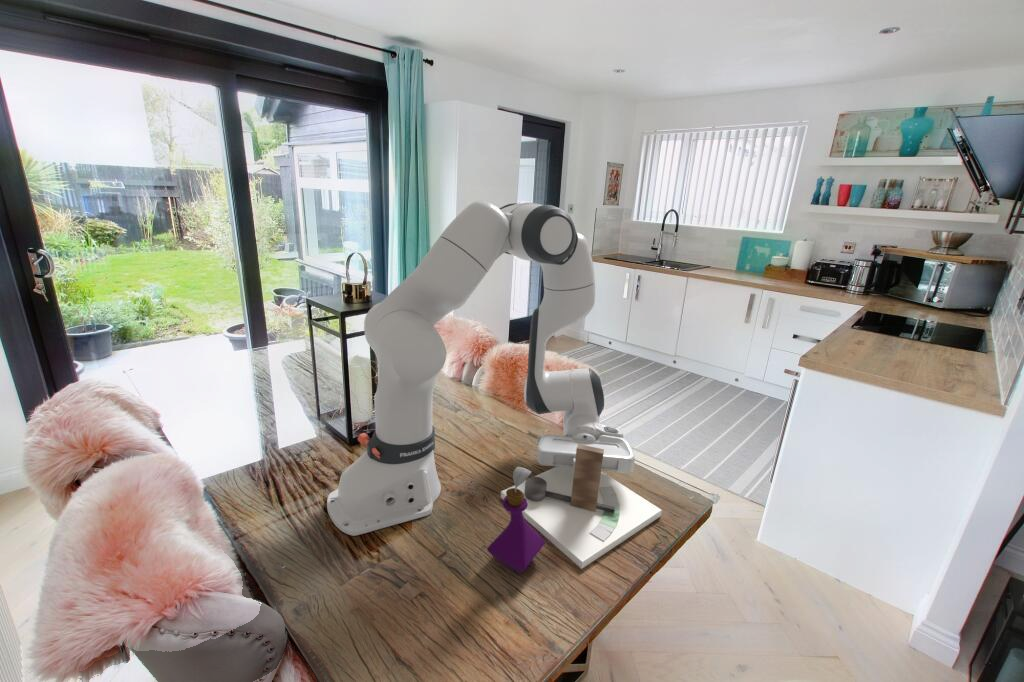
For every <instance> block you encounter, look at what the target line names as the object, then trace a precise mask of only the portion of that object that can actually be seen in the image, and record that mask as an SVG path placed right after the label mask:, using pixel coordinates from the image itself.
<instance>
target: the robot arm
mask: <svg viewBox="0 0 1024 682" xmlns="http://www.w3.org/2000/svg"><path fill="white" fill-rule="evenodd" d="M503 254H507V255H511V256H512V255H513V257H514V256H515V257H517V258H518V259H521V260H525V261H530V262H538V264H539V266H540V268H541V271H542V280H543V281H542V282H543V298H542V300H541V302H540V305H539V306H538V307H536V308H534V310H533V311H532V312H533V313H532V315H531V320H530V329H529V330H530V331H529V339H528V341H529V342H528V343H529V344H528V357H527V375H526V379H525V382H524V387H523V388H524V389H523V397H524V402H525V405H526V407H527V408H528V409H530V411H532V412H533V413H535V414H537V415H544V414H550V413H554V412H563V413H562V414H563V415H562V426H563V429H562V430H563V431H562V433H563V434H561V435H559V434H544V435H542V436H539V437H537V438H536V445H537V456H536V457H537V458H536V462H537V463H538V464H539V465H540V466H548V467H568V468H573V470H574V468H575V459H576V449H577V446H578V444H581V445H585V446H590V447H595V448H600V449H604V454H603V462H602V469H601V471H602V472H611V473H613V472H614V473H623V474H630V473H632V472H633V470H634V467H635V460H636V459H635V454H634V451H633V449H632V447H631V445H630V443H629V442H628V441H627V439H625V438H624V431H622V430H621V429H618V428H614V427H610V426H607V425H605V424H602V423H601V422H600V417H599V416H600V415H601V414H602V412H603V411H604V407H605V396H604V395H605V394H604V390H603V386H602V382H601V378H600V376H599V375H598V374H597V373H596V372H595V370H594V369H591V368H573V369H572V368H571V369H567V370H554V371H551V370H550V371H549V370H546V369H545V361H546V349H547V348H546V347H547V343H548V341H549V340H550V338H552V337H553V336H555V335H556V334H557V333H559V332H561V331H563V330H565V329H567V328H569V327H572V326H574V325H576V324H578V323H579V322H581V321H582V320H583V319H585V318H586V317H587V316H588V315H589V314H590V313H591V311H592V310H593V308H594V306H595V301H596V300H595V299H596V277H595V270H594V263H593V257H592V254H591V249H590V246H589V241H588V240H587V238H586V237H585V235H583V234H581V233H580V232H577V230H576V227H575V223H574V221H573V220H572V217H571V216H570V215H569V214H568V213H567V212H566V211H565V210H563V209H562V208H560V207H557V206H555V205H551V204H540V203H539V204H538V203H536V202H521V203H516V202H515V203H507V204H506V205H504V206H501V207H498V206H497V205H496V204H493V203H491V202H489V201H484V200H477V201H474V202H471V203H470V204H469V205H467V207H465V208H464V209H463V210H462V211H461V212H459V214H458V215H457V216H456V217H455V218H454V219H453V220H452V221H451V222H450V223H449V224H448V225H447V227H446V228H445V229H444V230H443V231H442V233H441V234H440V235H439V237H438V238H437V239H436V241H435V242H434V244H433V245H432V247H430V249H429V251H428V252H427V253H426V254H425V255H424V257H422V260H421V261H420V262H419V263H418V265H417V266H416V267H415V269H414V270H413V271H412V272H411V273H410V274H409V275H408V276H407V277H406V278H405V279H404V280H403V281H402V282H401V283H399V285H398V286H396V287H395V288H394V289H393V290H392V291H391V292H390V293H389V294H388V295H387V296H386V297H384V299H383V300H382V301H380V302H378V303H376V304H374V305H373V306H372V307H371V308H370V309H369V310H368V311H367V313H366V315H365V318H364V323H363V324H364V325H363V329H364V337H365V341H366V343H367V344H368V345H369V347H370V348H371V350H373V352H374V354H375V356H376V359H377V362H378V363H377V364H378V380H377V381H378V382H377V387H376V388H377V389H376V392H375V393H374V396H373V400H374V401H373V402H374V421H375V430H374V432H373V434H372V436H371V437H370V436H369V435H368V434H367V433H365V432H363V433H359V436H358V437H357V441H358V442H359V443H360V445H361V446H363V447H366V451H365V452H364V453H362V455H360V457H358V458H357V460H355V461H354V462H352V464H350V466H348V467H347V468H346V469H345V470H344V471H343V472H342V474H340V479H339V483H338V488H337V489H335V490H333V491H331V492H330V493H329V494H328V496H327V499H326V508H327V509H326V510H327V513H328V516H329V518H330V520H331V521H332V523H333V524H334V525H335V527H337V528H338V529H339V530H340V531H341V532H343V534H344V533H345V534H346V535H349V536H352V537H353V536H354V537H355V536H359V535H363V534H368V533H370V532H374V531H378V530H381V529H384V528H388V527H391V526H396V525H398V524H402V523H405V522H410V521H413V520H416V519H419V518H423V517H426V516H430V514H432V512H433V507H434V503H435V501H436V500H437V499H438V498H439V496H440V494H441V490H442V485H441V481H440V479H439V475H438V472H437V467H436V461H435V452H434V451H435V448H436V435H435V434H436V433H435V431H436V430H435V426H434V425H433V420H434V419H433V409H434V408H433V405H434V403H433V401H434V400H433V398H434V389H435V384H436V381H437V377H438V374H439V373H440V372H441V371H442V370H443V368H444V366H445V363H446V359H447V348H446V344H445V343H444V340H443V338H442V336H441V334H440V333H439V331H438V329H437V328H436V327H435V325H436V324H438V323H439V322H440V321H441V320H442V319H443V318H444V317H446V316H447V315H448V314H450V313H451V312H453V311H455V310H458V309H460V308H462V306H464V305H465V304H466V302H467V301H468V299H469V298H470V297H471V295H472V294H473V292H474V291H475V290H476V289H477V287H478V286H479V284H480V283H481V281H482V280H483V279H484V278H485V276H486V275H487V273H488V272H489V271H490V270H491V268H492V267H493V265H494V264H495V262H496V261H497V260H498V258H500V257H501V256H502V255H503Z"/></svg>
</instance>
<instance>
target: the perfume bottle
mask: <svg viewBox="0 0 1024 682" xmlns="http://www.w3.org/2000/svg"><path fill="white" fill-rule="evenodd" d="M512 473H513V474H512V481H513V483H514V485H515V488H511V489H508V490H507V491H506V495H507V496H506V497H505V498H504V499H502V506H503V509H504V510H506V511H507V512H510V521H509V522H508V523H509V524H507V526H506V527H505V528H504V529H503V530H502V531H501V532H500V534H499V535H498V536H496V538H495V539H494V540H493V541H491V543H490V545H488V547H487V548H486V550H487V552H488V553H489V554H490V555H491V556H493V558H494V559H495V560H497V562H498V563H500V564H501V565H503V566H505V567H506V568H508V569H510V570H512V571H514V572H516V573H517V574H521V573H522V572H524V571H525V570H526V569H527V568H528V567H529V565H530V564H531V563H532V561H533V560H534V558H535V557H536V556H537V555H538V554H539V552H540V551H541V550H542V548H543V547H544V546H545V544H546V543H547V541H546V539H544V538H543V537H542V536H541V535H540V534H539V533H538V532H537V531H536V530H535V529H534V528H533V527H532V526H531V525H529V524H528V521H527V520H526V519H525V518H524V517H523V514H522V511H524V510H525V509H526V508H527V506H528V504H527V500H526V498H524V493H523V492H522V491H520V490H519V489H517V487H518V486H519V485H520V484H522V483H523V482H524V481H525V480H527V479H528V478H529V476H530V475H531V474H532V471H531V470H529V469H527V468H525V467H521V466H516V467H515V469H514V470H513V472H512Z"/></svg>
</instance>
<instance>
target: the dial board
mask: <svg viewBox="0 0 1024 682" xmlns="http://www.w3.org/2000/svg"><path fill="white" fill-rule="evenodd" d="M533 477H540V478H542V479H544V480H545V481H546V483H547V488H546V491H549V492H553V493H558V494H562V495H566V496H570V497H571V496H572V487H573V477H574V470H573V468H568V467H557V466H553V468H550V469H548V470H546V471H543V472H541V473H538V474H537V475H534V476H533ZM526 480H527V479H526ZM526 480H525V481H526ZM525 481H524V482H523V483H522V484H520V485H519V486H518V487H517V489H519V490H520V491H522V492H523V493H524V498H526V500H527V504H528V506H527V508H526V509H525V510H524V511H522V514H523V517H524V519H525V521H526V522H527V523H529V524H530V526H533V527H534V528H535V529H536V530H537V531H538V532H540V534H541V535H543V536H544V537H545V538H546V539H547V540H548V541H549V542H550V543H551V544H553V545H554V546H555V547H556V548H557V549H559V551H560V552H562V553H563V554H564V555H565V556H567V558H568V559H570V560H571V561H572V562H573V563H575V565H576V566H578V567H579V568H580V569H581V570H582V569H584V568H585V567H587V566H588V565H590V564H591V563H593V562H594V561H596V560H597V559H598V558H600V557H602V556H603V555H605V554H606V553H608V552H609V551H611V550H613V549H614V548H616V547H617V546H618V545H620V544H622V543H623V542H624V541H626V540H627V539H629V538H631V537H632V536H634V535H635V534H636V533H638V532H639V531H641V530H642V529H644V528H645V527H647V526H649V525H650V524H651V523H653V522H655V521H656V520H657V519H659V518H660V517H661V516H662V513H663V512H662V511H663V509H660V507H658V506H656V505H655V504H653V503H651V502H650V501H649V500H647V499H645V498H644V497H642V496H641V495H639V494H637V493H636V492H635V491H633V490H631V489H630V488H628V487H627V486H625V485H623V484H622V483H621V482H619V481H617V480H616V479H614V478H612V477H611V476H609V475H608V474H606V473H604V471H601V477H600V485H599V493H598V501H597V503H600V504H604V505H608V506H613V507H615V511H614V513H612V512H608V511H604V510H599V509H596V511H593V510H589V509H584V508H580V507H576V506H572V505H571V503H570V502H566V501H562V500H558V499H554V498H549V497H545V498H544V499H543V500H540V501H532V500H529V499H528V498H527V497H526V496H525ZM511 488H515V484H514V485H512V486H510V487H508V488H506V489H504V490H501V491H500V498H501V499H502V500H503V499H504V498H505V497H506V496H507V495H506V491H507V490H508V489H511Z"/></svg>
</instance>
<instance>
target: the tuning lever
mask: <svg viewBox="0 0 1024 682" xmlns="http://www.w3.org/2000/svg"><path fill="white" fill-rule="evenodd" d="M603 454H604V449H600V448H595V447H590V446H585V445H581V444H578V446H577V449H576V459H575V468H574V477H573V487H572V496H571V497H570V496H566V495H562V494H558V493H553V492H549V491H546V488H547V483H546V481H545V480H544V479H542V478H540V477H534V476H531V477H527V479H526V481H525V496H526V497H527V498H528V499H529V500H532V501H540V500H543V499H544V498H545V497H549V498H554V499H558V500H562V501H566V502H570V503H571V505H572V506H576V507H580V508H584V509H589V510H593V511H596V509H599V510H604V511H608V512H612V513H614V511H615V507H613V506H608V505H604V504H600V503H597V501H598V493H599V485H600V477H601V469H602V462H603Z"/></svg>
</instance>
